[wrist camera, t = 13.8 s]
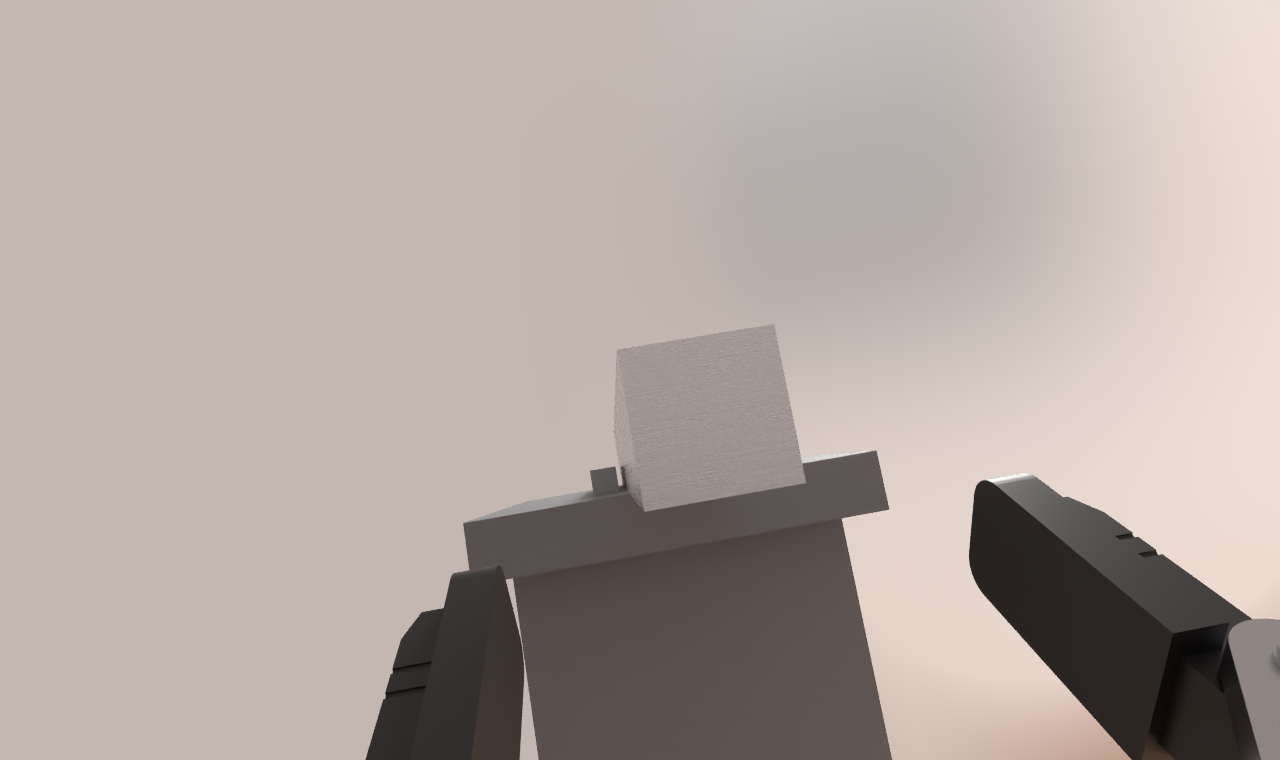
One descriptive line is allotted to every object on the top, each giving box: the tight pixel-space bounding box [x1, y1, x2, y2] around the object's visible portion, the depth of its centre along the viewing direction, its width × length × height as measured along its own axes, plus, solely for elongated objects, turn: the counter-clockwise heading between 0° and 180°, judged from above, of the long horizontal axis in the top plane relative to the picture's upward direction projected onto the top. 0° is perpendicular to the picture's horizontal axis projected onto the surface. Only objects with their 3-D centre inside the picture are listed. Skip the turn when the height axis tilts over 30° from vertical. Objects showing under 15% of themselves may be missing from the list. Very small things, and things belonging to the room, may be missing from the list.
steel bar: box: [614, 325, 806, 512], centre depth 24 cm, size 25×3×3 cm, turn 3°
